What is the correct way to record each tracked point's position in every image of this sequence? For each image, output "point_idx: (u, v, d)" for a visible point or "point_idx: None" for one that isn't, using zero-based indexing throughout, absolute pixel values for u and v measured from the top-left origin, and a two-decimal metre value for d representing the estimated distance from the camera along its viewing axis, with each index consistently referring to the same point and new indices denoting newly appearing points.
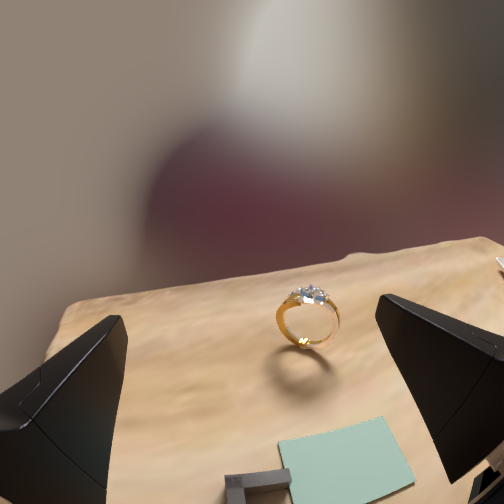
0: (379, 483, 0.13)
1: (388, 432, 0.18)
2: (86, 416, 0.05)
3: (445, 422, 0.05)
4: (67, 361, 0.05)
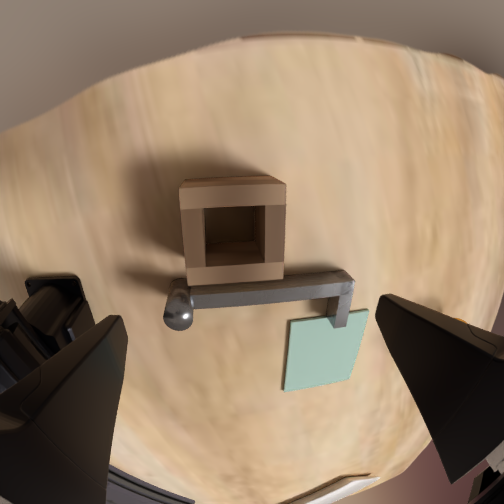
0: (298, 372, 0.26)
1: (334, 381, 0.28)
2: (86, 416, 0.05)
3: (444, 422, 0.05)
4: (67, 361, 0.05)
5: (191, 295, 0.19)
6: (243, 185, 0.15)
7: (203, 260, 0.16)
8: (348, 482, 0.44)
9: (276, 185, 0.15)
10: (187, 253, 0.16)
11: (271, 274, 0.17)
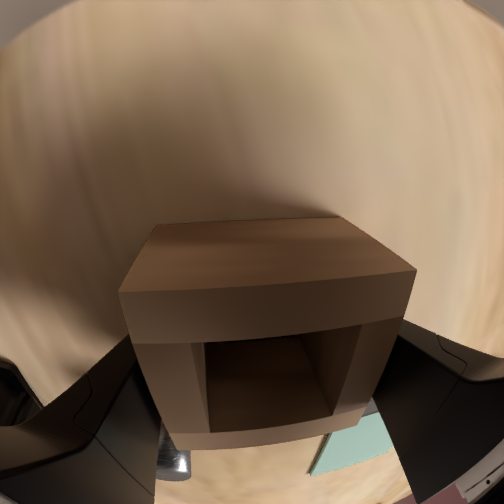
0: (332, 461, 0.16)
1: (371, 457, 0.18)
2: (139, 422, 0.05)
3: (410, 440, 0.05)
4: (118, 365, 0.05)
5: None
6: (315, 280, 0.05)
7: (204, 425, 0.06)
8: None
9: (397, 275, 0.05)
10: (167, 416, 0.06)
11: (340, 425, 0.07)
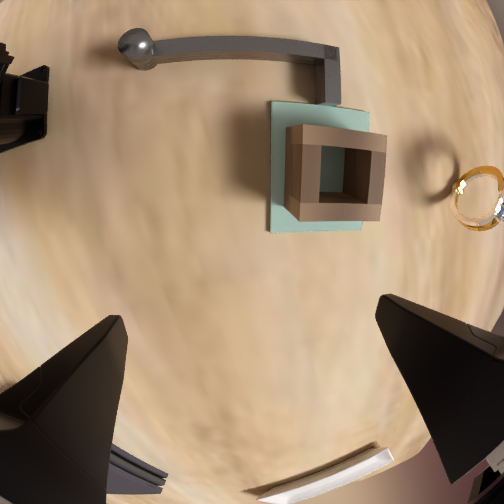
0: None
1: (341, 227, 0.22)
2: (86, 416, 0.05)
3: (445, 422, 0.05)
4: (67, 361, 0.05)
5: (154, 41, 0.13)
6: (355, 130, 0.15)
7: (317, 196, 0.16)
8: (381, 450, 0.40)
9: (380, 135, 0.15)
10: (303, 187, 0.16)
11: (371, 215, 0.17)
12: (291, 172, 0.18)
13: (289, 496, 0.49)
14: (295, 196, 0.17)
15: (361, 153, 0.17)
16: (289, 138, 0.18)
